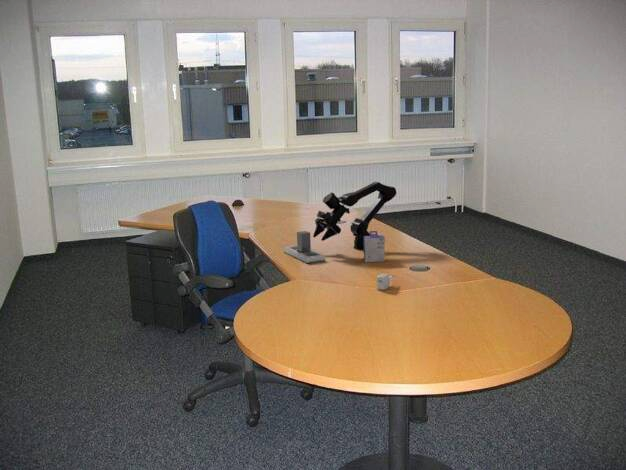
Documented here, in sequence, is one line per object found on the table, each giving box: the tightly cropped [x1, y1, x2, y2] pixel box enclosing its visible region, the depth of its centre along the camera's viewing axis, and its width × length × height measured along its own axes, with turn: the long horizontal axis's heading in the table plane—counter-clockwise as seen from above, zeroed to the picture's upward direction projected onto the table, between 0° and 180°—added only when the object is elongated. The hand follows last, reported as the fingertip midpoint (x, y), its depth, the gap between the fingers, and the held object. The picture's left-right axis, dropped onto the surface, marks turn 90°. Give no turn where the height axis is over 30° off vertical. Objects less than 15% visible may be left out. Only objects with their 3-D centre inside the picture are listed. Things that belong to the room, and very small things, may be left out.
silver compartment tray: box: [283, 245, 326, 265], centre depth 308 cm, size 26×10×3 cm, turn 27°
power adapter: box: [375, 272, 395, 291], centre depth 255 cm, size 11×5×6 cm, turn 150°
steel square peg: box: [296, 230, 312, 253], centre depth 307 cm, size 5×5×12 cm
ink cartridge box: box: [363, 230, 386, 263], centre depth 296 cm, size 10×6×14 cm, turn 95°
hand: (317, 238), depth 310 cm, fingers open, 9 cm apart
